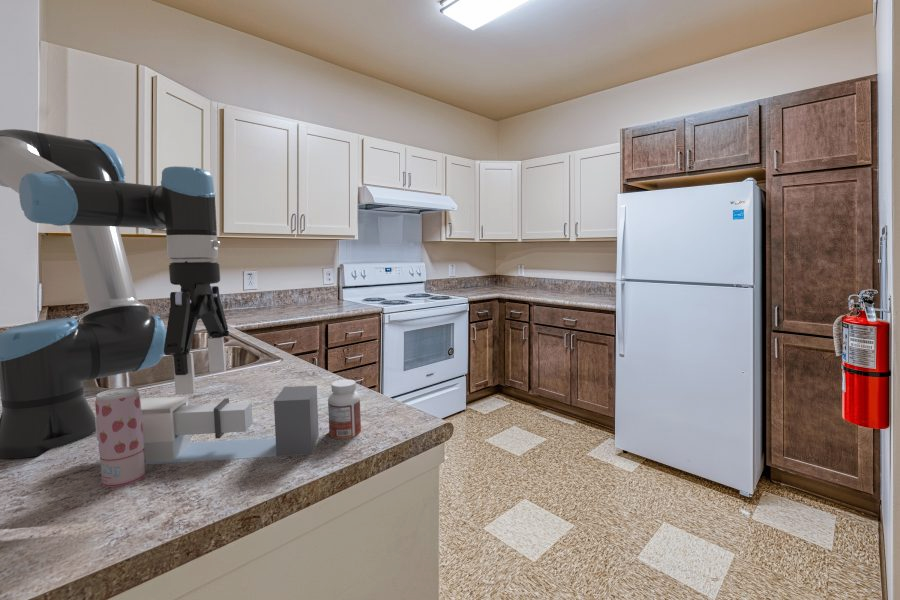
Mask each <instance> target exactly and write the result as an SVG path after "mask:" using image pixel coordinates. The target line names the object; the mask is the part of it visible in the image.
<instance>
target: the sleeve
mask: <svg viewBox="0 0 900 600" xmlns="http://www.w3.org/2000/svg"><path fill="white" fill-rule="evenodd" d="M140 402H141V413H142V425H143V436H144V448H145V459H146V463H147V462H163V461H174V460H176V459H177V458H178V457H179V456H180V455H181V454H182V453H183V452H184V451H185V450H186V449H187V448H188V447H189V446H190V445H191V443H192V439H191V437H192V436H191V435H175V433H174V420H173V411H174V410H175V409H177V408H178V407H179V406H181V405H189V397H188V395H182V396H181V395H179V396H177V395H176V396H175V395H174V396H156V397H140Z"/></svg>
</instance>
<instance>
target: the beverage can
mask: <svg viewBox="0 0 900 600" xmlns="http://www.w3.org/2000/svg"><path fill="white" fill-rule="evenodd" d="M140 398H141V395H140V393H139V389H138V388H137V387H135V386H134V387H131V386H125V387H124V386H123V387H115V388H110V389H108V390H103V391H101V392H99V393H97V394H96V396H95V402H94V406H95V417H96V419H97V430H98V440H97V441H98V451H99V460H100V461H99V462H100V463H99V464H100V472H101V473H100V474H101V482H102V483H101V484H102V485H103V486H104V487H108V488H115V487H122V486H126V485H129V484H132V483H135V482H138V481H139V480H141V479H143V478H144V477H145V476H146V475H147V465H146V459H145V448H144V436H143V425H142V413H141V402H140Z"/></svg>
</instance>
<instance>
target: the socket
mask: <svg viewBox="0 0 900 600" xmlns="http://www.w3.org/2000/svg"><path fill="white" fill-rule="evenodd" d="M318 404H319V403H318V385H299V386H284V387H283V388H282V390H281V391H280V393H278V395H277V396H276V397H275V398H274V400H273V410H274V432H275V434H274V435H275V438H276V456H275V457H287V456H286V455H290V456H303V455H302V454H306V455H312V454H313V451H314V449H315V447H316V443H317V441H318V438H319V436H318V435H319V434H320V433H319V412H318V410H319V407H318V406H319V405H318ZM314 446H315V447H314Z"/></svg>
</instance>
